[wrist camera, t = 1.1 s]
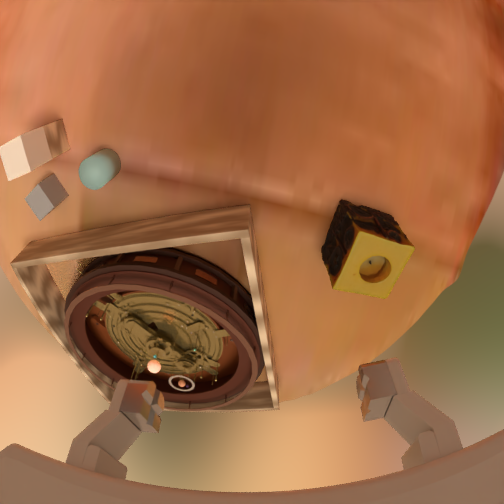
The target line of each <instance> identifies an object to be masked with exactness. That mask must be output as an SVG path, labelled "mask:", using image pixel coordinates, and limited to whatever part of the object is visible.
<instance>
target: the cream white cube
mask: <svg viewBox="0 0 504 504" xmlns="http://www.w3.org/2000/svg"><path fill="white" fill-rule="evenodd" d="M0 155H1V158H2V162H3V165H4V168H5V171H6V174H7V177H8V180H9V181H11V180H13V179H15V178H17V177H20V176H22V175H24V174H26V173H29V172H31V171H33V170H34V169H36V168H38V167H39V166H41V165H43V164H45V163H46V162H48V161H50V160H52V157H51V153H50V150H49V146H48V143H47V139H46V135H45V132H44V128H43V126H42V127H39V128H37V129H34V130H32V131H29V132H27V133H24V134H22V135H20V136H18V137H16V138H14V139H13V140H11V141H9V142H7V143H6V144H4V145H2V146H0Z"/></svg>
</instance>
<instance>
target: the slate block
mask: <svg viewBox="0 0 504 504" xmlns="http://www.w3.org/2000/svg"><path fill="white" fill-rule="evenodd" d="M67 196H69V195H68V193H67V192H66V190H65V189H64V188H63V186H62V185H61V183H60V182H59V180H58V179H57V177H56V176H55V174H52V175H51V176H49V177H48V178H46V179H45V180H43V181H42V182H40V183H39V184H38V185H37V186H36V187H35V188H34V189H33V190H32V191H31V192H30V193H29V195H28V196H27V197H26V198H25V200H26V202H27V203H28V205H29V206H30V208H31V209H32V210H33V212H34V213H35V215H36V216H37V218H38V219H39V220H40V221H41V220H42V219H43V218H44V217H45V216H46V215H47V214H49V213H50V212H51V211H52V210H53V209H54V208H55V207H56V206H58V205H59V204H60V203H61V202H62V201H63V200H64V199H65V198H66V197H67Z"/></svg>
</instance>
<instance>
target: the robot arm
mask: <svg viewBox="0 0 504 504" xmlns="http://www.w3.org/2000/svg"><path fill="white" fill-rule="evenodd" d="M358 371H359V376H358V377H357V393H358V398H359V399H360V400H361V401H362V404H361V411H362V416H363V421H369V420H375V419H380V418H384V419H385V420H386V421H387V422H388V423H389V424H390V425H391V426H392V427H393V428H394V429H395V430H396V431H397V432H398V433H399V434H400V435H401V436H402V437H403V438H404V439H405V440H406V441H407V442H408V443H409V444H410V445H411V446H410V447H409V449H408V450H407V451H406V452H405V454H404V455H403V456H402V463H403V468H404V470H402V471H399V472H395V473H391V474H387V475H384V476H379V477H375V478H371V479H366V480H362V481H357V482H351V483H346V484H340V485H334V486H328V487H320V488H313V489H304V490H293V491H278V492H252V493H251V492H249V493H248V492H241V493H240V492H213V491H198V490H187V489H178V488H170V487H162V486H156V485H149V484H144V483H139V482H133V481H128V480H125V478H126V473H127V467H126V466H124V465H123V464H122V463H120V462H119V461H118V460H119V459H120V458H121V457H122V456H123V454H124V453H125V452H126V451H127V449H128V448H129V447H130V446H131V445H132V444H133V442H134V441H135V440H136V439H137V438H138V436H139V435H140V434H141V432H152V433H153V432H154V433H159V429H160V424H161V418H160V416H159V415H160V414H161V413H162V412H163V410H164V397H163V394H162V393H161V391H159V390H157V389H156V384H155V383H154V382H153V381H140V380H124V379H120V380H119V382H118V383H117V386H116V389H115V392H114V395H113V398H112V401H111V403H110V406H109V410H105V411H104V412H103V413H102V414H101V415H100V416H98V417H97V418H96V419H95V420H94V421H93V422H92V423H91V424H90V425H89V426H87V427H86V428H85V429H84V430H83V431H82V432H81V433H80V434H79V435H78V436H77V437H75V438H74V439H73V441H72V444H71V448H70V451H69V454H68V457H67V460H66V463H64V462H61V461H58V460H55V459H53V458H50V457H47V456H45V455H42V454H40V453H37V452H34V451H32V450H30V449H28V448H25V447H23V446H21V445H19V444H11V445H9V446H7V447H6V448H5V449H3V450H2V451H1V452H0V504H504V429H503V430H501V431H499V432H497V433H496V434H494V435H492V436H490V437H488V438H486V439H483V440H482V441H479V442H477V443H475V444H473V445H471V446H468V447H466V448H464V449H463V447H462V444H461V441H460V438H459V435H458V432H457V429H456V426H455V423H454V421H453V420H452V419H450V418H449V417H448V416H446V415H445V414H444V413H442V412H441V411H440V410H438V409H437V408H436V407H435V406H433V405H432V404H430V403H429V402H428V401H426V400H425V399H424V398H423V397H421V396H420V395H419V394H417V393H416V392H415V391H410V389H409V386H408V383H407V381H406V378H405V375H404V372H403V369H402V367H401V364H400V361H399V359H398V358H391V359H387V360H381V361H376V362H372V363H367V364H362V365H360V366H359V369H358Z"/></svg>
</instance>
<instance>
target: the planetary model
mask: <svg viewBox="0 0 504 504" xmlns="http://www.w3.org/2000/svg"><path fill="white" fill-rule="evenodd" d="M76 261H77V260H76ZM77 262H78V261H77ZM78 263H79V262H78ZM79 264H80V263H79ZM80 266H81V264H80ZM80 266H79V267H80ZM79 267H78V268H79ZM77 270H78V269H77ZM78 271H79V272H80V273H81V276H80V277H79V279H78V281H77V282H76V283H74V285H73V286H72V288H71V290H70V292H69V294H68V296H67V297H66V303H65V309H64V313H65V320H64V327H65V335H66V338H67V340H68V343H69V345H70V348H71V349H72V351H73V352H74V354H75V356H76V357H77V359H78V360H79V361H80V362H81V363H82V365H83V366H84V367H85V368H86V369H87V370H88V371H89V372H90V373H91V374H92V375H94V376H95V377H96V378H97V379H98V380H100V381H101V382H102V383H104V384H105V385H107V386H108V387H110V388H111V389H113V390H115V389H116V388H114V387H112V384H113V382H116V383H118V382H119V380H120V379H124V380H140V381H153V382H154V383H155V384H156V389H157V390H159V391H161V393H162V394H163V397H164V401H168V402H174V403H185V404H189V408H190V405H191V404H199V403H209V402H216V401H220V400H224V399H225V403H222V404H219V405H215V406H212V407H205V408H197V409H182V408H172V407H165V406H164V409H169V410H178V411H203V410H211V409H216V408H219V407H223V406H226V405H229V404H231V403H233V402H235V401H237V400H239V399H240V398H241V397H243V396H244V395H245V394H247V393H248V392H249V390H250V389H251V388H252V386H253V385H254V383H255V381H256V380H257V378H258V377H259V376H260V374H261V372H262V369H263V367H264V364H265V361H264V356H263V351H262V346H261V341H260V336H259V331H258V326H257V321H256V316H255V311H254V306H253V301H252V297H251V296H250V295H249V294H248V293H247V292H246V291H245V290H244V289H243V287H242V286H241V285H240V284H239V283H238V282H237V281H235V280H234V279H232V278H231V277H230V276H228V275H227V274H226V273H224V272H223V271H222V270H220V269H219V268H217V267H215V266H213V265H211V264H209V263H207V262H205V261H203V260H201V259H200V258H197V257H194V256H191V255H188V254H185V253H182V252H179V251H176V250H172V249H166V248H159V249H151V250H143V251H135V252H128V253H120V254H113V255H105V256H100V257H98V258H96V259H95V260H94V261H92V262H91V263H90V264H89V265H88V266H87V267H86V268H85V269H84V271H83V272H81V271H80V270H78ZM70 336H71V338H72V340H73V342H74V343H75V345H76V347H77V348H78V350H79V351H80V352H81V353H82V355H83V357H82V359H81V358H80V356H79V354H78V353H77V351H76V350H75V348H74V346H73V343H72V340H71V338H70ZM84 357H85V358H86V359H87V360H88V361H89V362H90V363H91V364H92V365H93V366H94V367H95V368H96V369H97V370H98V371H100V372H101V373H103V374H104V375H105V376H107V377H108V378H109V379H111V380H112V384H111V385H109V384H108V383H107V382H105V381H104V380H102V379H101V378H100V377H99V376H97V375H96V374H95V373H94V372H93V371H92V370H91V369H90V368H89V367H88V366H87V365H86V364H85V363H84V361H83V358H84ZM239 393H240V394H239ZM237 394H239V395H237ZM235 395H237V396H236V397H235V398H233V399H231V400H229V401H227V402H226V400H227V398H230V397H233V396H235Z"/></svg>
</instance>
